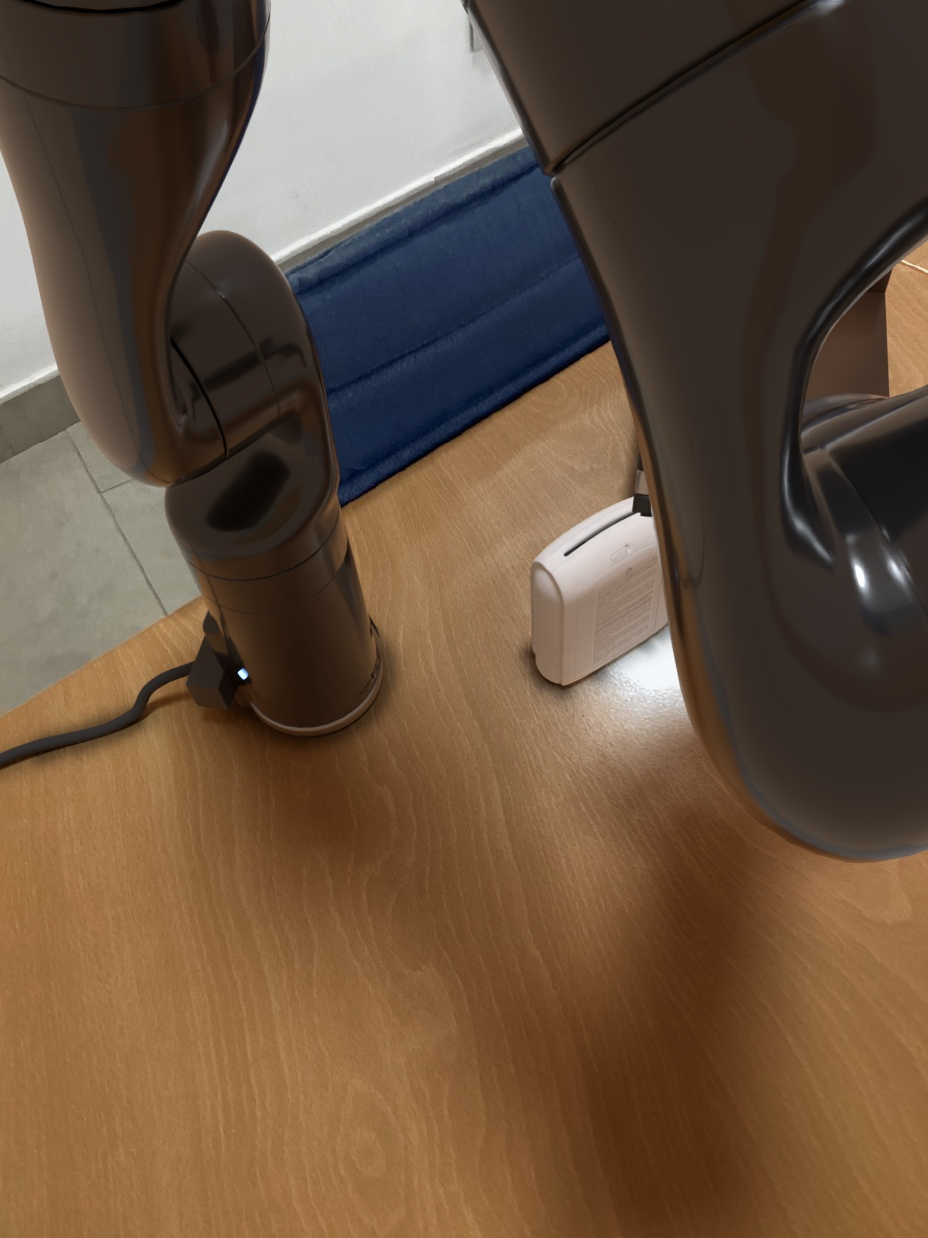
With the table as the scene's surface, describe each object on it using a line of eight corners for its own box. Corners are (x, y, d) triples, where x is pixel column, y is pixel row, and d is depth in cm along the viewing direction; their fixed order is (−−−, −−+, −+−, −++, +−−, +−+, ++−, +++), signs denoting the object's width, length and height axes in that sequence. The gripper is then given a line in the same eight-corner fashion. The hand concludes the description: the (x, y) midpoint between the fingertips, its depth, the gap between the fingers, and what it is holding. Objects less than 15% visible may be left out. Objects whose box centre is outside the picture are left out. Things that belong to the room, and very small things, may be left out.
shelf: (634, 508, 80) (646, 366, 68) (652, 369, 88) (667, 221, 76) (855, 530, 77) (908, 385, 65) (853, 385, 85) (899, 234, 74)
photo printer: (640, 583, 76) (652, 463, 65) (679, 623, 73) (698, 505, 63) (522, 654, 73) (516, 541, 63) (559, 698, 71) (559, 588, 61)
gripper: (1098, 416, 32) (950, 419, 49) (627, 375, 34) (641, 391, 51) (1048, 658, 33) (921, 580, 50) (600, 603, 36) (622, 546, 52)
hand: (780, 485), depth 50 cm, fingers closed on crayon, 3 cm apart
